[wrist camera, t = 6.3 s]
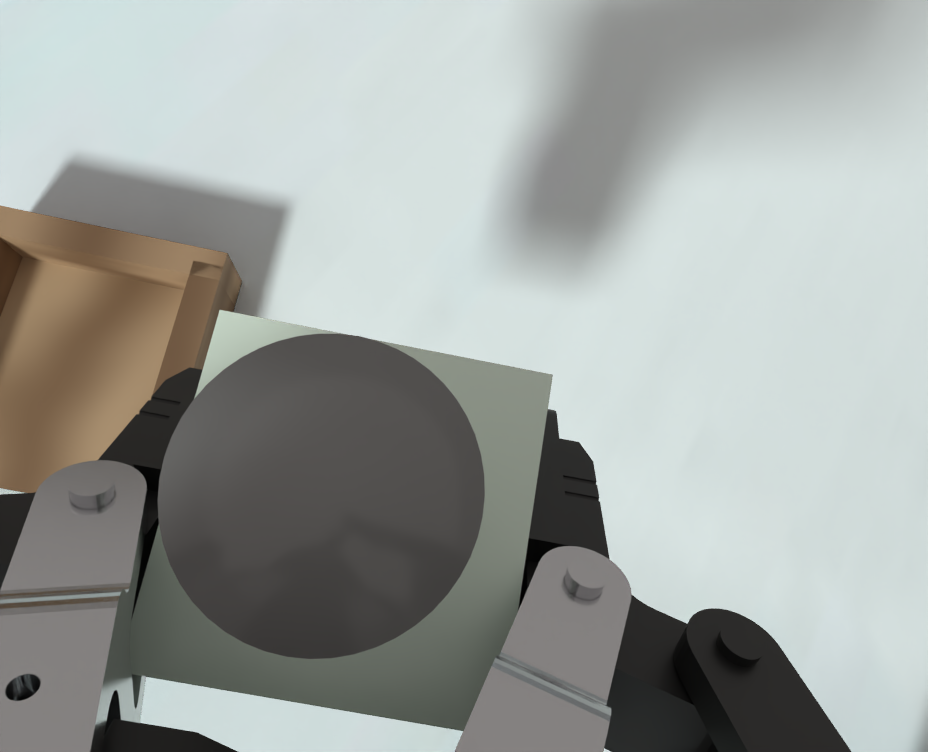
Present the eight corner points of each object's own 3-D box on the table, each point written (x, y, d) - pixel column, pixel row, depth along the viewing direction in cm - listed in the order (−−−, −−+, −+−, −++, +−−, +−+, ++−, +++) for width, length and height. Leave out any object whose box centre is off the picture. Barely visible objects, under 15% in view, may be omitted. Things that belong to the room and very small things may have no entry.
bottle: (479, 460, 18) (632, 282, 6) (447, 644, 17) (563, 854, 5) (305, 427, 18) (124, 178, 6) (260, 611, 17) (-71, 750, 5)
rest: (242, 281, 31) (227, 252, 28) (174, 519, 28) (150, 516, 25) (13, 233, 31) (-26, 200, 28) (-79, 473, 28) (-133, 463, 25)
